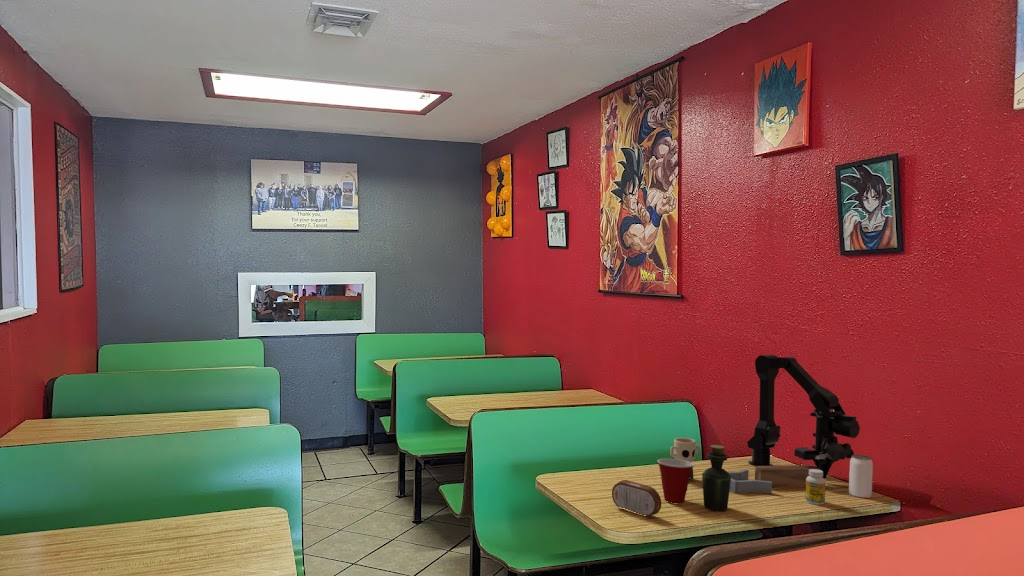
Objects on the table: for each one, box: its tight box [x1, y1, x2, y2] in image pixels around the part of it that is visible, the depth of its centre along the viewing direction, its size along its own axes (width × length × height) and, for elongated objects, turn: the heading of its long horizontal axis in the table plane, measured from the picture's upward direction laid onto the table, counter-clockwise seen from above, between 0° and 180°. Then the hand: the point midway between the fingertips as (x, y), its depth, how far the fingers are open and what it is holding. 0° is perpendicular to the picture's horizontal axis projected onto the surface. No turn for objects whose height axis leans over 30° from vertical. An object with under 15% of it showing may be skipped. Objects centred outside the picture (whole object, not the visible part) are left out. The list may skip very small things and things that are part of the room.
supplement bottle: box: [805, 469, 826, 506], centre depth 213 cm, size 5×5×10 cm
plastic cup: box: [656, 458, 695, 504], centre depth 211 cm, size 11×11×12 cm
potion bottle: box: [701, 444, 731, 512], centre depth 205 cm, size 8×8×18 cm
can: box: [848, 454, 874, 499], centre depth 221 cm, size 6×6×12 cm
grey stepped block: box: [727, 468, 773, 494], centre depth 226 cm, size 12×15×4 cm
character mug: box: [669, 437, 700, 481], centre depth 234 cm, size 11×7×13 cm, turn 111°
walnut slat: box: [754, 464, 819, 488], centre depth 230 cm, size 4×20×6 cm, turn 97°
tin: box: [611, 479, 662, 518], centre depth 200 cm, size 15×3×8 cm, turn 48°
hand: (823, 478), depth 233 cm, fingers closed
